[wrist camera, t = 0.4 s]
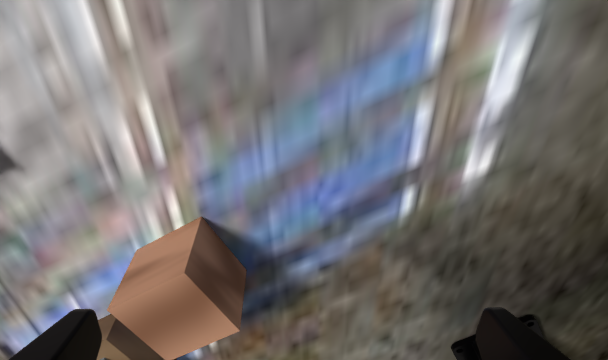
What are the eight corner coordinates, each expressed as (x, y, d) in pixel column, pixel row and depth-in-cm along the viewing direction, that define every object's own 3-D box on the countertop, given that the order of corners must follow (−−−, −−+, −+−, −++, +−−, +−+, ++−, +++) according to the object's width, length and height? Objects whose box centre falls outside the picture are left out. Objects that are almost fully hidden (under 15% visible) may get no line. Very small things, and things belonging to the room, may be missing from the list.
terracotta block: (246, 269, 27) (239, 330, 22) (185, 297, 28) (167, 362, 23) (201, 215, 24) (184, 272, 20) (137, 249, 25) (106, 310, 21)
